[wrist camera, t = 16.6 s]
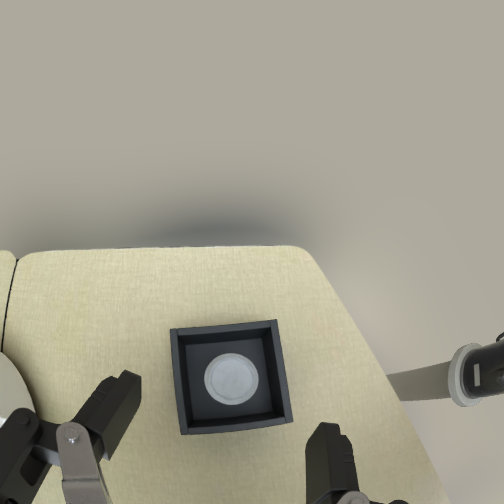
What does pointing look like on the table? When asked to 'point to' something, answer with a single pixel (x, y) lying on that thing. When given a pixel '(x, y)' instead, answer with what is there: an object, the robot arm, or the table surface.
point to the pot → (12, 390)
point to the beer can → (231, 379)
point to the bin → (204, 352)
